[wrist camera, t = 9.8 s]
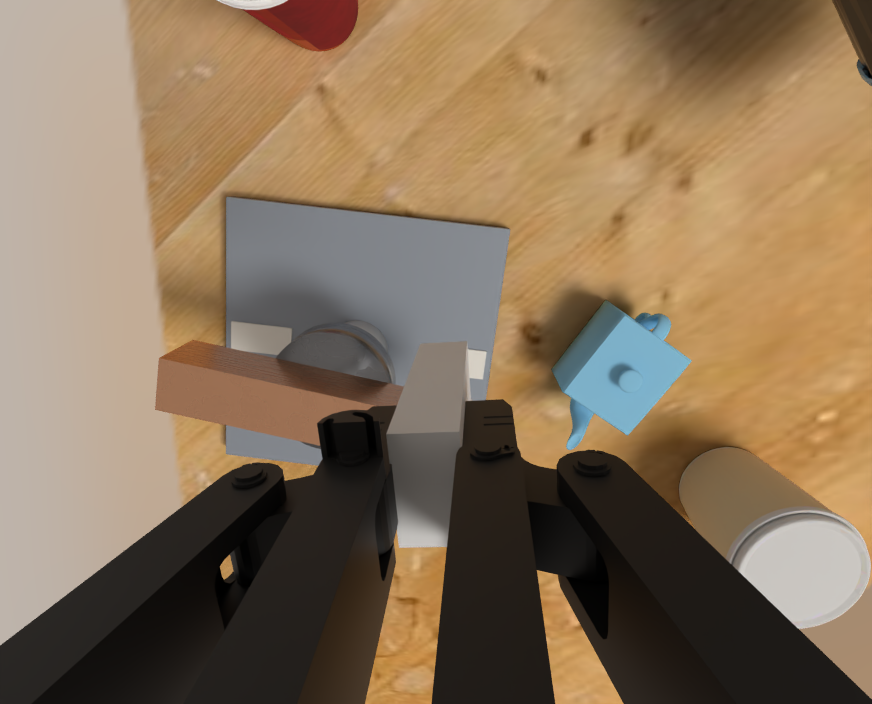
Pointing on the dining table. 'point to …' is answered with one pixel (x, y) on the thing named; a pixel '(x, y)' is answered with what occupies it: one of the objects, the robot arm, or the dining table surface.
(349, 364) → the t handle
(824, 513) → the coffee cup
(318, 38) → the coffee cup
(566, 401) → the dining table surface
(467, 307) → the striped base plate
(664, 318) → the teapot
